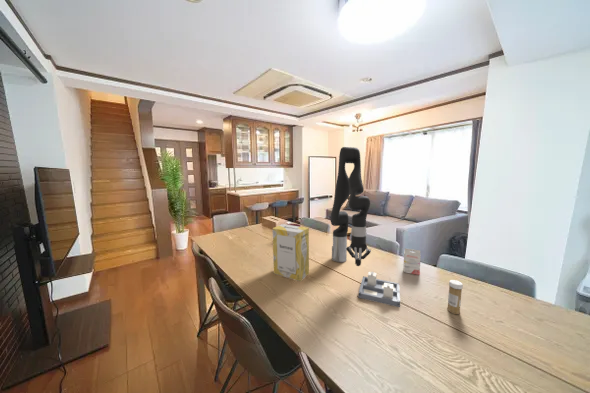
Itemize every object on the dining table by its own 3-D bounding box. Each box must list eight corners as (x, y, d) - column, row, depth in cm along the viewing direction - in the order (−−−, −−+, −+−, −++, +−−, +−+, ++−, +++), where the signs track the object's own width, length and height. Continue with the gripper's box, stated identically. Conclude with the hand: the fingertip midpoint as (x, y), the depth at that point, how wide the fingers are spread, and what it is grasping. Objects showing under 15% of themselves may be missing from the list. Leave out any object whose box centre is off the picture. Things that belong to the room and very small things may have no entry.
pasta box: (273, 273, 127) (272, 228, 123) (283, 266, 136) (282, 224, 132) (300, 281, 118) (299, 232, 114) (308, 273, 127) (308, 227, 123)
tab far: (367, 284, 111) (367, 274, 110) (368, 281, 114) (368, 270, 113) (375, 286, 109) (376, 275, 108) (376, 282, 113) (376, 272, 112)
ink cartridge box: (419, 271, 127) (420, 247, 125) (419, 275, 123) (421, 250, 121) (403, 268, 131) (404, 245, 129) (403, 272, 127) (404, 248, 124)
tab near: (383, 297, 100) (383, 285, 99) (383, 293, 103) (384, 281, 102) (392, 299, 98) (393, 287, 97) (392, 295, 102) (393, 283, 101)
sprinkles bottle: (462, 313, 90) (465, 284, 89) (454, 315, 89) (456, 285, 88) (452, 306, 95) (455, 278, 93) (444, 308, 94) (446, 280, 92)
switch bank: (358, 297, 102) (358, 292, 102) (362, 280, 118) (363, 276, 117) (399, 307, 95) (400, 302, 95) (398, 287, 110) (399, 283, 110)
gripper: (344, 234, 111) (344, 266, 113) (371, 237, 105) (370, 270, 107) (347, 230, 117) (346, 260, 119) (372, 233, 112) (371, 264, 114)
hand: (358, 265), depth 113 cm, fingers closed
